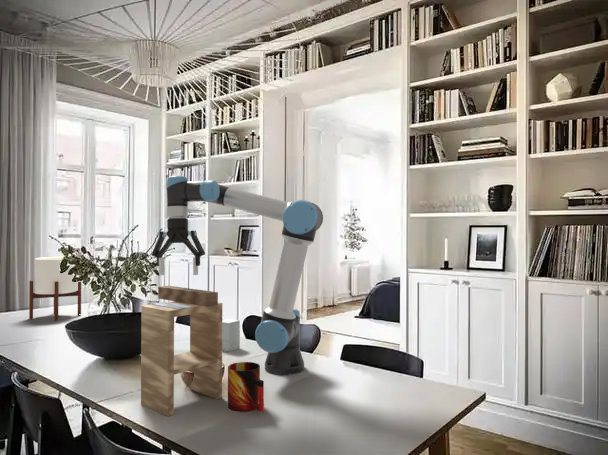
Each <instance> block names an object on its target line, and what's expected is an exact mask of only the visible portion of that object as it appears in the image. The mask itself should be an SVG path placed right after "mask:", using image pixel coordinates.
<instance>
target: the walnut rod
mask: <svg viewBox="0 0 608 455" xmlns="http://www.w3.org/2000/svg"><path fill="white" fill-rule="evenodd" d="M157 297H158V300H165V301H169V302H174V301H176V302H182V303H188V304H193V305H199V306H205V307H210V306H216V305H218V302H219V292H218V291H212V290H211V291H210V290H205V289H196V288H190V287H181V286H175V285H162V286H161V285H160V286H158V296H157Z"/></svg>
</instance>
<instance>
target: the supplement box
mask: <svg viewBox="0 0 608 455" xmlns="http://www.w3.org/2000/svg"><path fill="white" fill-rule="evenodd" d="M240 322H241V321H240V320H237V319H231V318H226V319H222V351H223V352H224V351H225V352H232V351H236V350H238V349H239V350H240V348H241V345H240V344H241V342H240V341H241V333H240V332H241V331H240V330H241V329H240V328H241V326H240Z"/></svg>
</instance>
